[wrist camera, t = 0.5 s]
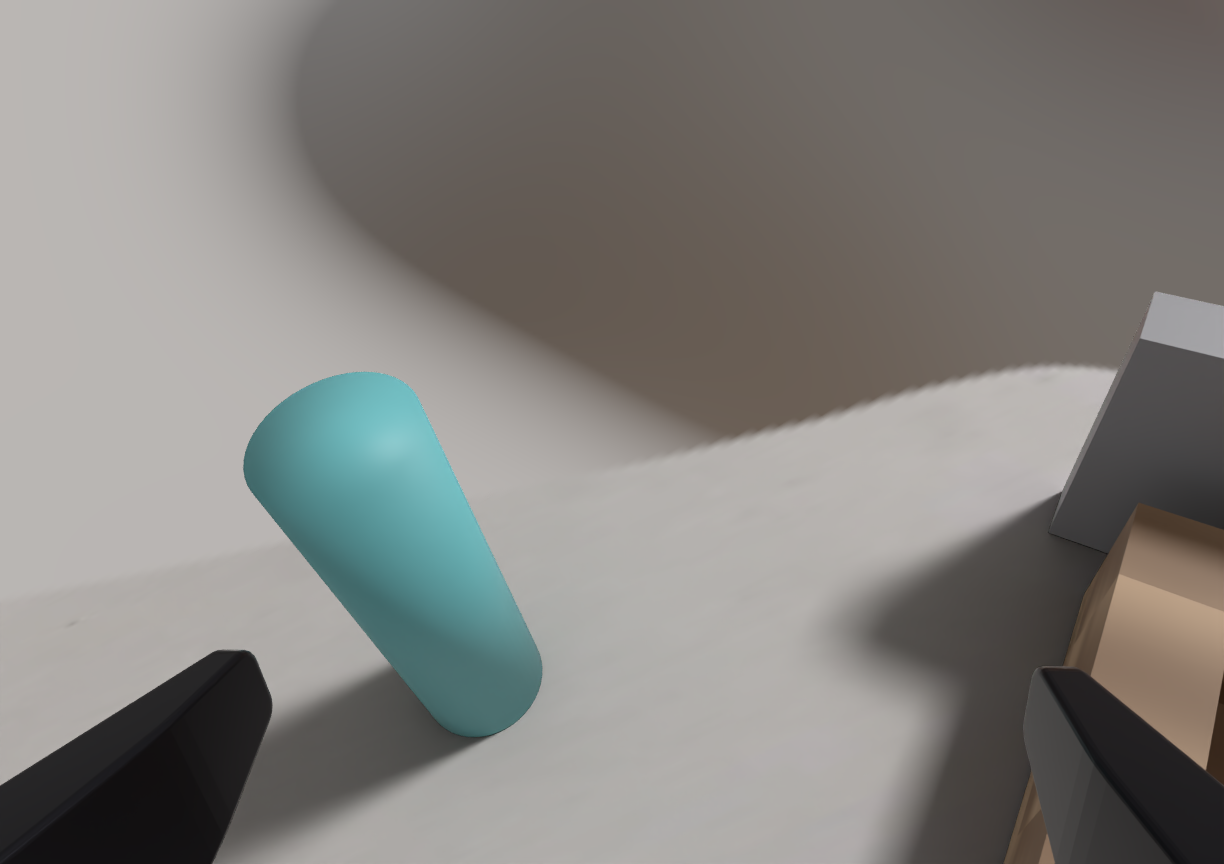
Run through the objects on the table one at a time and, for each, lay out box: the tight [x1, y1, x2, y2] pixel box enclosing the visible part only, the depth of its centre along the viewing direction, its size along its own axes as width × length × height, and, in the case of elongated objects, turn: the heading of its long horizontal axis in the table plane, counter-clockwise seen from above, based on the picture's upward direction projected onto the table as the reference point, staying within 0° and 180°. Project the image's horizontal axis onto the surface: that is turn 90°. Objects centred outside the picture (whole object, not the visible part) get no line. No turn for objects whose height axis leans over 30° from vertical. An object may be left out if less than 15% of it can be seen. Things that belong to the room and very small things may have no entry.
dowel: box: [243, 372, 542, 737], centre depth 22 cm, size 4×4×12 cm
